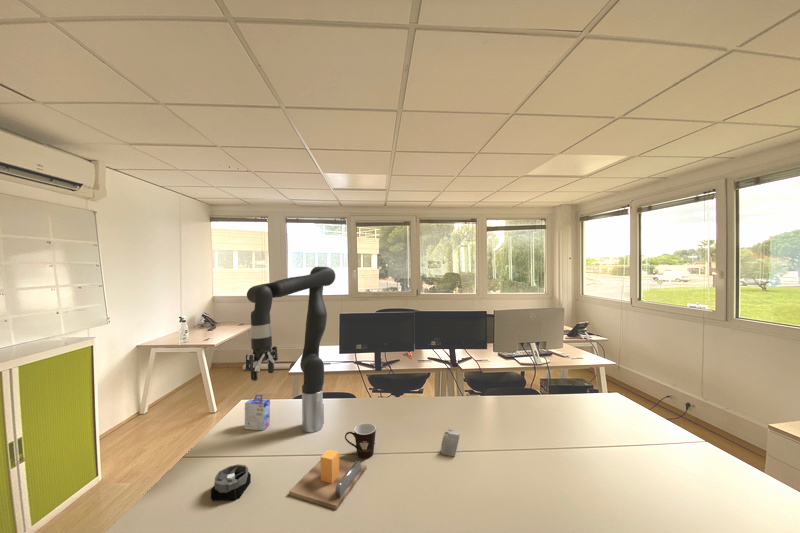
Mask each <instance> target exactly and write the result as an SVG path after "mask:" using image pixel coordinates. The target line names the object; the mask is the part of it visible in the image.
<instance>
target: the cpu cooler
mask: <svg viewBox="0 0 800 533" xmlns="http://www.w3.org/2000/svg"><path fill="white" fill-rule="evenodd" d="M251 476H252V474H251V473H250V471H249V467H248V466H246V465H245V464H240V463H239V464H234V465H230V466H228V467H225V468H224V469H221V470H219V471H218V472H217V474H216V475H215V477H214V485H213V486H212V487H211V489H210V500H211V501H212V502H214V501H215V502H217V501H218V502H221V501H222V502H223V501H224V502H226V501H231V502H233V501H234V502H235V501H236V500H237V499H240V498H241V497H242V496H243V494H244V493H245V491H246V489H247V488H248V487H249V486H250V484H251V480H252V479H251V478H252V477H251Z"/></svg>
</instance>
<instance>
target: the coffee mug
mask: <svg viewBox="0 0 800 533" xmlns="http://www.w3.org/2000/svg"><path fill="white" fill-rule="evenodd" d="M353 431H354V432H352V431H348V432H346V433H345V434H344V435H345V436H344V439H345V441H346V442H347V443H348V444H349V445H350V446H353V447H355V449H356V455H357V457H358V458H359V459H361V460H366V459H370V458H372V457H373V456H374V453H375V452H374V451H375V443H376V442H375V441H376V433H377V432H376V431H377V427H376V425H374V424H373V423H369V422H365V423H364V422H362V423H359V424H358V425H356V426H355V427H354V429H353ZM349 434H351V435H353V437H354V440H355V444H354V443H353V442H351V441H350V440H348V439H347V436H348V435H349Z"/></svg>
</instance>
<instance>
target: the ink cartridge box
mask: <svg viewBox="0 0 800 533" xmlns="http://www.w3.org/2000/svg"><path fill="white" fill-rule="evenodd" d="M270 415H271V399H268V398H267V399H266V398H263V394H255V397H254V398H251V399H249V400H248V401H246V402H245V403H244V430H254V431H255V430H256V431H257V430H258V431H264V430H265V429H267V428H268V427H270V425H271V423H270V422H271V421H270V420H271V418H270V417H271V416H270Z"/></svg>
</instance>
